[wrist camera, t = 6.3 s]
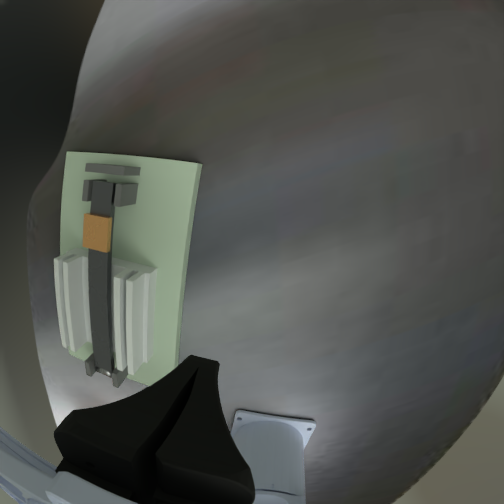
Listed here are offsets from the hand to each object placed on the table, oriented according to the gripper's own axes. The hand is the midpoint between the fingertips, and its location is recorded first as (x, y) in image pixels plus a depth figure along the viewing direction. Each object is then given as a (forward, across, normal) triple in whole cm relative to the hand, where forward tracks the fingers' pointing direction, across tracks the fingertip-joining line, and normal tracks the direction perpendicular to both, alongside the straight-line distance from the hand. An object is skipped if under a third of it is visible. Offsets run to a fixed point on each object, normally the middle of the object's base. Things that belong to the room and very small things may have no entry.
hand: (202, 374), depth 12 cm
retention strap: (+8, +10, +1) cm, 13 cm away
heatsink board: (+10, +10, +1) cm, 14 cm away
